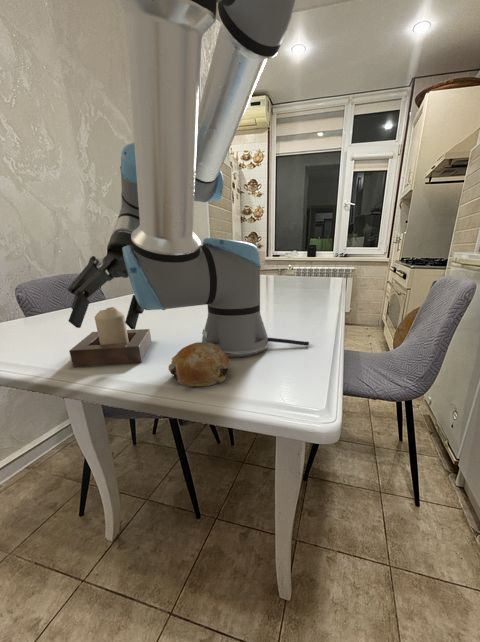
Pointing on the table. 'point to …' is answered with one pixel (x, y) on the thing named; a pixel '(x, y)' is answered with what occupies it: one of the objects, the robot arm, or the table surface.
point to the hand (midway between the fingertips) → (102, 325)
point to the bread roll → (199, 365)
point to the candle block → (111, 350)
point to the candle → (111, 327)
